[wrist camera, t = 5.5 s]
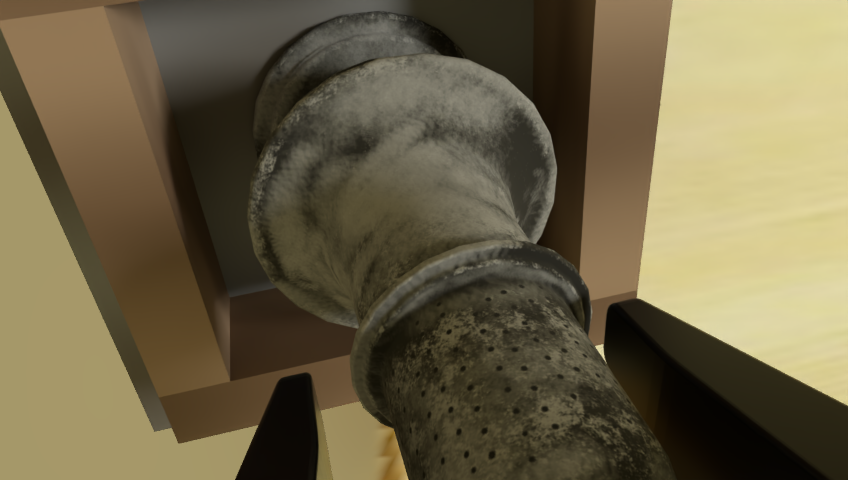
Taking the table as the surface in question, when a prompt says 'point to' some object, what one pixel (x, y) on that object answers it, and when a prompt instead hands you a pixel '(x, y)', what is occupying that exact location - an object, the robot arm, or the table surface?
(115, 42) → the socket
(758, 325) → the table surface
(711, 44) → the table surface
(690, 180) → the table surface
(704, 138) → the table surface
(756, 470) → the robot arm
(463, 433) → the salt shaker
